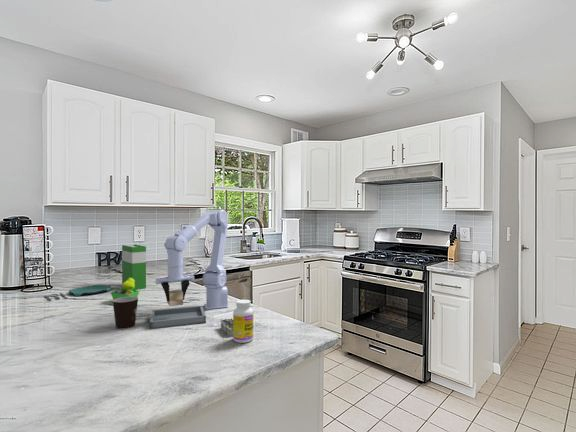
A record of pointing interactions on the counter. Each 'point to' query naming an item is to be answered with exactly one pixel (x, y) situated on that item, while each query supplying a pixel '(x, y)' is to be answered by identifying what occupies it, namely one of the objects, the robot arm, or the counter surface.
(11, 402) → the counter surface
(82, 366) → the counter surface
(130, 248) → the green cereal box
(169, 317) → the tray
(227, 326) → the grey lumpy block
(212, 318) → the counter surface
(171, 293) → the wooden cube
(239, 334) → the supplement bottle
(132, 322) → the coffee mug
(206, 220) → the robot arm
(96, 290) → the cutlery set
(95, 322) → the counter surface
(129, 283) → the fruit basket
